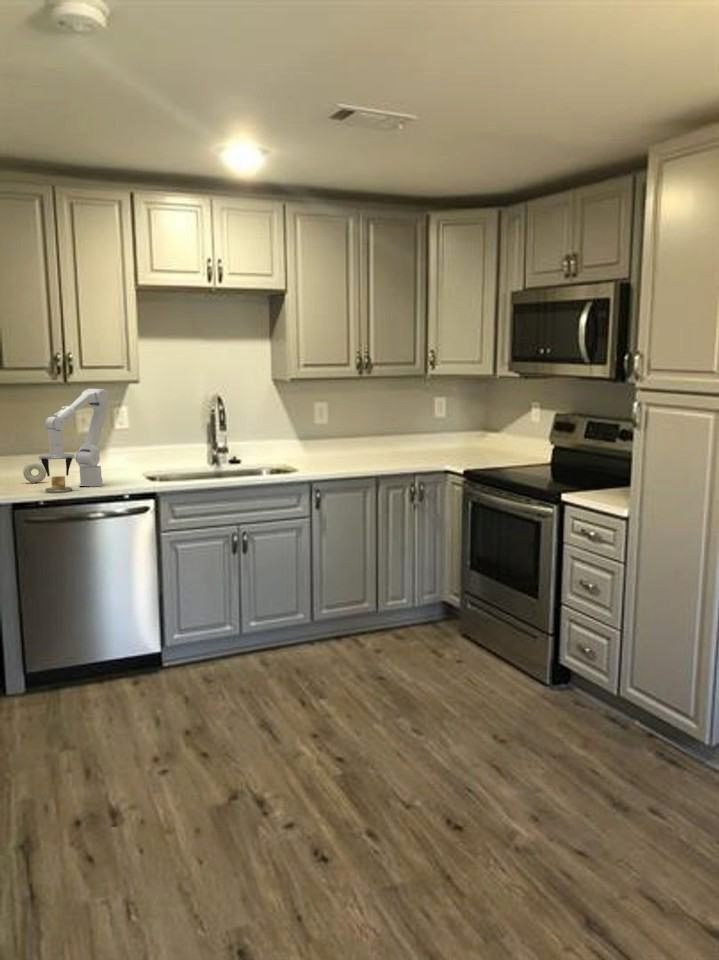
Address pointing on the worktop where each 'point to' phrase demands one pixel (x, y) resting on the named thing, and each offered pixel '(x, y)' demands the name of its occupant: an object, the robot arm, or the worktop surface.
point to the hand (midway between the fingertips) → (58, 475)
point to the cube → (58, 482)
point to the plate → (58, 490)
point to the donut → (29, 468)
